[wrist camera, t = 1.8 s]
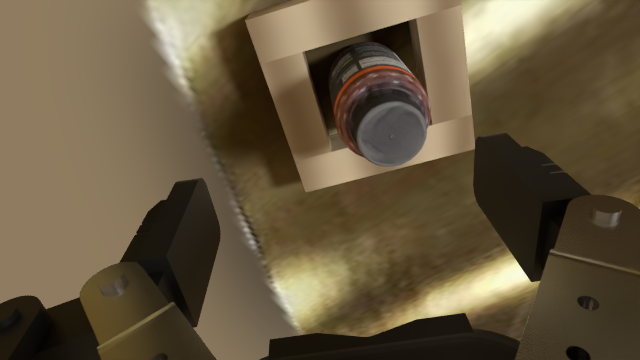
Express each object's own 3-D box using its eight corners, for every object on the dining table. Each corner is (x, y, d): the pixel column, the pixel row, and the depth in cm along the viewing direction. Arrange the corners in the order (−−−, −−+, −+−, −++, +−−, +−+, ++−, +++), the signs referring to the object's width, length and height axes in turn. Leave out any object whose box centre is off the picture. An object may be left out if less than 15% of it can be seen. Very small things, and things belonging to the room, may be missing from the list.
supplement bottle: (385, 122, 35) (417, 194, 25) (317, 102, 34) (323, 169, 24) (415, 52, 32) (464, 104, 22) (342, 28, 31) (360, 70, 21)
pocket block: (442, -47, 28) (456, -45, 26) (462, 133, 35) (475, 148, 33) (249, 13, 30) (244, 20, 27) (305, 174, 37) (305, 192, 34)
